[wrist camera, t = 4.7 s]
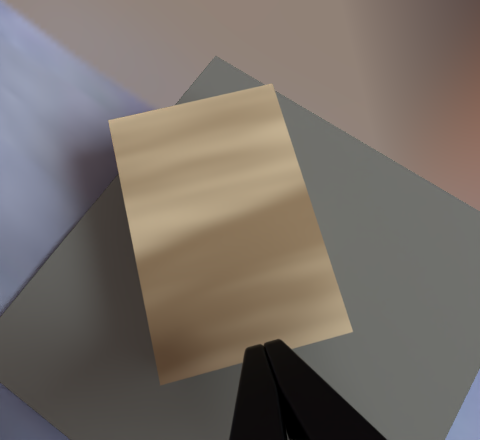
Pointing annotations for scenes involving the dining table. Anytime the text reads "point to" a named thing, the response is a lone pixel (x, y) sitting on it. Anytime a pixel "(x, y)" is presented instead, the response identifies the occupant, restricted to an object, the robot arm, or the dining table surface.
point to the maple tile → (223, 232)
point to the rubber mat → (315, 355)
